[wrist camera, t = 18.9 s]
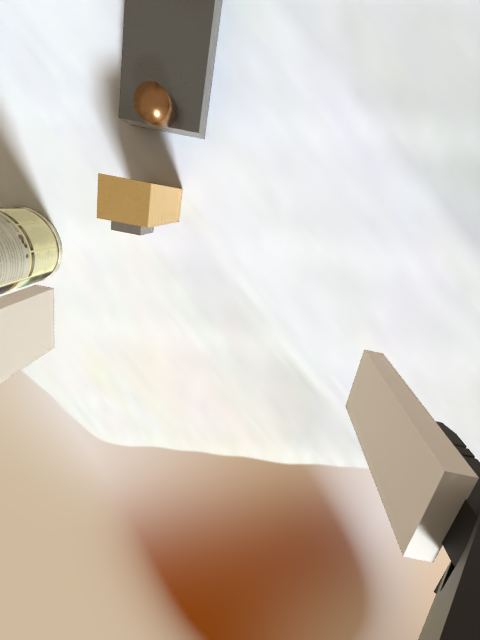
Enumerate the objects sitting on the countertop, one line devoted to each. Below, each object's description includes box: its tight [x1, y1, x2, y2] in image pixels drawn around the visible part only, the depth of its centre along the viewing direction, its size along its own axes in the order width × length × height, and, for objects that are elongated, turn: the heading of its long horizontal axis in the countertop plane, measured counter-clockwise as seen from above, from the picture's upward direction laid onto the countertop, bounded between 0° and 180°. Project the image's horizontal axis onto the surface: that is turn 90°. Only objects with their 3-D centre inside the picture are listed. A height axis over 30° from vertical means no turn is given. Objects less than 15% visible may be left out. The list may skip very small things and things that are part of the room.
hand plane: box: [119, 0, 222, 139], centre depth 31 cm, size 9×20×12 cm, turn 170°
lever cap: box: [97, 173, 183, 235], centre depth 37 cm, size 5×5×12 cm
